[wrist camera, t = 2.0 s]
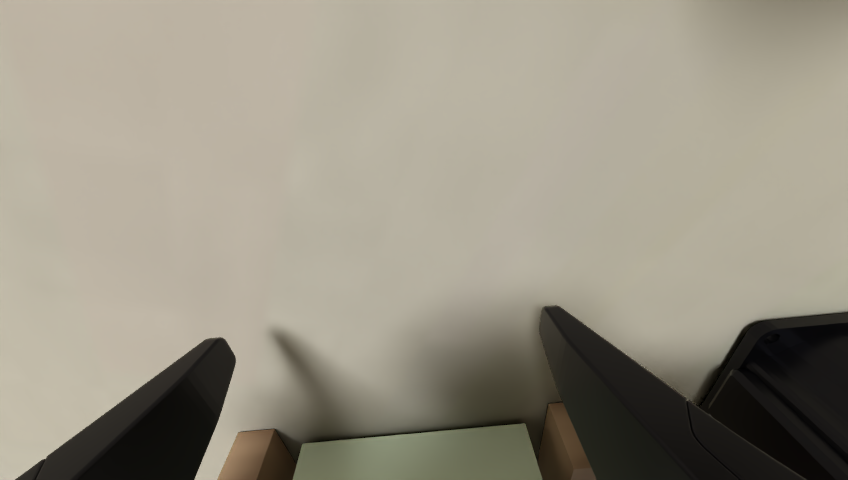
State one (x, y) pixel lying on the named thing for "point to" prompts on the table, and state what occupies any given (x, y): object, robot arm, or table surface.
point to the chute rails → (274, 467)
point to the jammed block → (424, 456)
